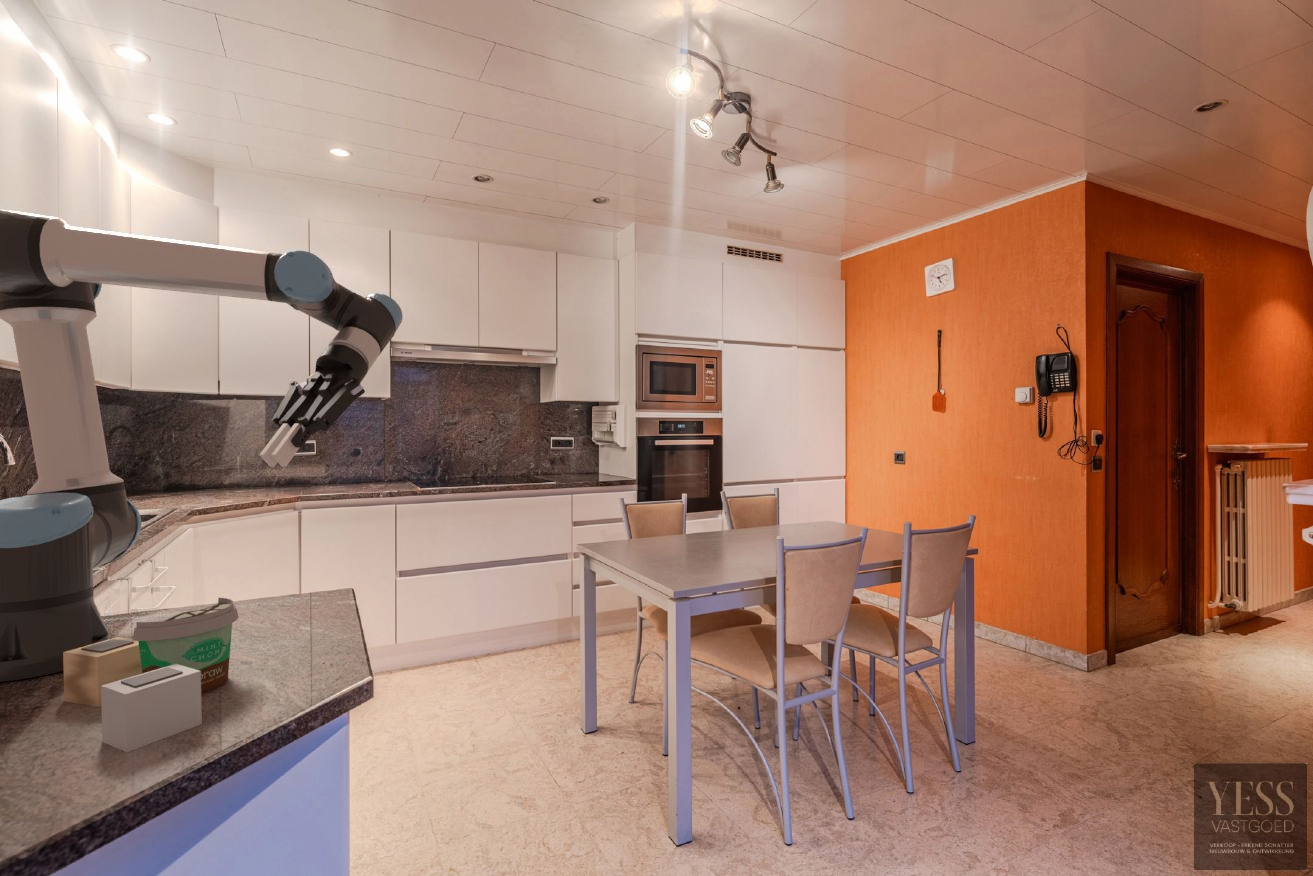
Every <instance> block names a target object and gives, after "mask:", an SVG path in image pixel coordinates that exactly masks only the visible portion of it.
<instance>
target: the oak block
mask: <svg viewBox="0 0 1313 876" xmlns="http://www.w3.org/2000/svg"><path fill="white" fill-rule="evenodd" d="M132 640H133V638H129V637H120V636H116V637H112V638H110V639H108V640H105V641H101V642H98V643H94V644H91V645H87V646H84V647H80V648H77V649H73V650H69V651H66V652H63V666H64V671H63V700H64V702H68V703H74V704H80V705H84V706H85V705H87V706H91V707H98V708H99V707H102V703H101V686H102V685H105V684H109V683H112V682H115V681H119V680H122V679H126V678H129V677H132V676H136V675H139V674H142V666H141V659H140V651H139V643H138V641H132Z"/></svg>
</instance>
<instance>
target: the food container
mask: <svg viewBox="0 0 1313 876" xmlns="http://www.w3.org/2000/svg"><path fill="white" fill-rule="evenodd" d="M217 599H218V600H217V604H214V605H212V606H209V607H206V608H203V609H198V610H192V611H184V612H180V613H178V614H176V615H174V616H172V617H170V618H167V619H165V620H163V621H162V620H160V621H136V625H135V626H136V627H134V628H133V634H132V639H133V640H132V641H138V643H139V651H140V659H141V666H142V674H143V673H146V672H150V671H153V670H156V669H160V668H163V667H167V666H170V665H173V664H179V665H182V666H186V667H189V668H192V669H196V670H199V671H201V696H204V695H206V694H209V693H212V692H214V691H216V690H219V689H220V688H222V687H223V686H225V685H226V684H227V683H228V680H229V670H230V669H229V668H230V658H231V656H230V655H231V644H232V643H231V642H232V634H233V633H232V631H233V623H236V621H237V620H238V619H239V617H240V616H239V613H238V609H237V606H236V604H234V601H233V600H232V599H231V598H227V597H218V598H217Z"/></svg>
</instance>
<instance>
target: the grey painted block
mask: <svg viewBox="0 0 1313 876" xmlns="http://www.w3.org/2000/svg"><path fill="white" fill-rule="evenodd" d="M101 703H102V706H101V738H102V739H101V740H102V741H101V742H102V743H104V744H107V745H109V746H111V747H113V748H115V749H118V750H120V751H122V750H123V751H122V752H124V753H128V752H131V751H130V750H132V751H134V750H136V749H139V747H140V748H142V747H145V746H148V745H150V744H152V743H155V742H158V741H161V740H163V739H166V738H168V737H171V736H175V735H176V734H179V733H181V732H184V731H187V730H190V729H192V728H195V727H198V726H200V725H203V722H202V721H203V720H202V718H203V715H202V714H203V713H202V710H203V709H202V695H201V671H199V670H196V669H192V668H189V667H186V666H182V665H179V664H173V665H170V666H167V667H163V668H160V669H156V670H153V671H150V672H146V673H143V674H139V675H136V676H132V677H129V678H126V679H122V680H119V681H115V682H112V683H109V684H105V685H102V686H101Z"/></svg>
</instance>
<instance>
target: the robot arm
mask: <svg viewBox="0 0 1313 876" xmlns="http://www.w3.org/2000/svg"><path fill="white" fill-rule="evenodd" d="M103 285H111V286H121V287H133V288H141V289H151V290H160V291H169V292H171V291H172V292H180V293H189V294H200V295H202V294H203V295H209V296H219V297H229V298H240V299H249V300H250V299H251V300H258V301H269V302H275V303H284V304H287V305H288V306H290V307H292V308H293V309H294V310H295V311H299V312H301V313H302V314H303V313H304V314H306V315H307V316H310V317H311V318H313V319H315V320H318V321H319V322H321V323H323V324H325V325H327V326H329V327H331V328H332V329H334V330H335V331H338V332H337V333H336V335H335V336H334V337H333V338H332V340H330V342H329V343H328V346H327V347H326V348H325V349H324V350H323V351H322V352H321V354H320V355H319V356H318V358H317V359H316V362H315V371H314V372H313V373H312V374H311V375H309V376H308V377H307V378H306V381H303V382H300V383H298V382H297V381H296V380H292V381H290V382H289V383H288V390H287V392H286V394H285V395H284V397H283V399H282V401H281V402H280V404H279V406H278V407H277V409H276V411H275V413H274V414H273V416H272V418H271V421H272V423H273V424H274V425H275V427H276V428H277V429H276V430H275V431H274V432H273V434H272V435H271V437H270V438H269V440H268V443H267V444H266V446H265V447H264V448H263V449H262V451H260V453H259V456H260V457H261V458H262V459H263V461H264V462H265V463H266V464H267V465H268V466H269V467H270V468H273V467H274V468H275V466H276V465H277V463H278V464H279V466H280V467H282V468H286V467H287V466H288V465H289V464H290V462H291V461H292V459H293V458H294V456H295V455H296V453H297V452H298V451H299V449H300V448H302V447H304V445H305V444H306V442H307V441H309V439H310V437H311V435H314V434H316V433H317V432H318V431H321V432H326V431H328V430H329V429H330V428H331V427H332V426H333V425H334V424H335V423H336V421H337V420H338V419H339V418H341V416H342V415H343V413H344V412H345V411H346V410H347V409H348V408H349V407H350V406H351V405H352V404H353V402H355V400H356V399H358V398H360V397H361V396H362V395H364V394H365V392H366V391H365V389H364V387H363V386H362V384H361V383H362V381H363V380H364V378H365V377H366V375H367V374H368V372H369V370H370V369H371V368H372V366H374V364H375V362H376V361H377V359H378V357H379V356H380V355H381V353H382V352H383V351H384V350H385V348H386V347H387V346H388V344H389V342H391V340H392V339H393V337H394V336H395V334H396V332H397V330H398V329H399V327H400V325H401V323H402V322H403V318H404V317H403V311H402V308H401V307H400V305H399V304H398V303H397V301H396V300H395V299H393V298H392V297H390V296H389V295H386V294H384V293H383V294H381V293H378V292H376V293H371V294H369V295H367V296H366V297H364V296H362V295H360V294H358V293H356V292H353V291H352V290H351V289H348V288H347V287H345V286H344V285H341V284H340V283H338V282H336V280H335V278H334V277H333V273H332V270H331V268H329V266H328V265H327V263H326V262H325V261H324V260H323V259H321V258H320V257H319V256H317V255H315V254H314V253H311V252H309V251H307V250H298V249H297V250H291V251H289V252H286V253H279V252H278V253H277V252H275V253H274V252H269V251H268V252H267V251H263V250H261V251H260V250H252V249H247V248H246V249H245V248H239V247H231V246H223V245H215V244H207V243H200V242H191V241H183V240H176V239H170V238H160V237H153V236H146V235H145V236H144V235H139V234H138V235H137V234H136V235H135V234H129V233H121V232H115V231H108V230H106V231H105V230H100V229H93V228H83V227H77V226H71V225H70V224H69V223H68V222H67V221H66V220H65V219H63V218H61V217H55V216H50V215H49V216H48V215H42V214H35V213H28V212H21V211H15V210H7V209H1V208H0V320H2V321H4V322H5V323H7V324H8V325H10V327H12V331H13V332H12V333H13V338H14V343H15V349H16V355H17V360H18V367H19V372H20V373H19V375H20V379H21V385H22V390H23V397H24V402H25V403H24V404H25V407H26V408H25V409H26V412H27V413H26V414H27V415H26V416H27V419H28V425H29V432H30V436H31V443H32V449H33V455H34V460H35V465H36V472H37V477H38V478H37V482H36V483H35V484H34V485H33V486H32V487H30V489H28V490H27V491H26V494H27V495H22V496H17V497H9V498H3V499H0V683H1V682H11V681H18V680H26V679H32V678H37V677H41V676H46V675H51V674H55V673H60V672H64V666H63V652H66V651H69V650H73V649H77V648H80V647H84V646H87V645H91V644H94V643H98V642H101V641H105V640H108V639H111V635H110V632H109V630H108V627H107V625H106V624H105V622H104V620H103V617H102V616H101V614H100V611H99V608H98V606H97V605H96V603H95V597H94V569H96V568H99V567H104V566H107V565H108V564H111V563H113V562H115V561H116V560H118V559H119V558H121V557H122V556H123V555H124V554H126V553H127V552H128V551H129V550H130V549H131V548H133V546H134V545H135V543H136V542H137V540H138V538H139V536H140V533H141V530H142V518H141V514H140V511H139V509H138V508H137V506H135V505H134V504H133V502H131V501H130V500H129V499H128V498H127V491H126V487H125V483H124V482H125V481H124V479H123V478H121V477H119V476H117V475H116V474H114V473H113V472H112V471H111V470H110V464H109V458H108V451H107V450H108V449H107V446H106V439H105V433H104V427H103V420H102V415H101V410H100V402H99V398H98V391H97V385H96V384H97V383H96V379H95V373H94V366H93V360H92V353H91V348H90V342H89V336H88V335H89V334H88V331H87V326H88V325H89V324H90V323H91V322H92V321H93V320H94V319H96V317H97V310H96V302H95V301H96V299H97V298H98V297H99V295H100V293H101V291H102V286H103Z"/></svg>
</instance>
